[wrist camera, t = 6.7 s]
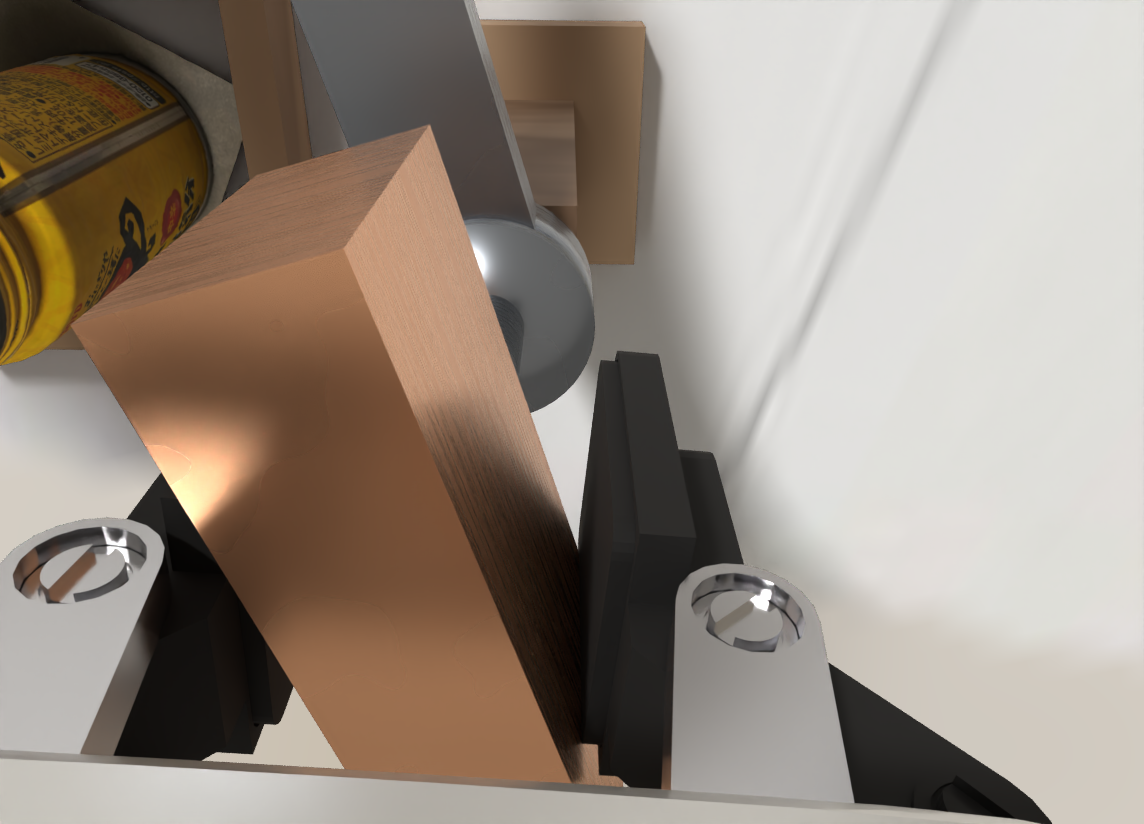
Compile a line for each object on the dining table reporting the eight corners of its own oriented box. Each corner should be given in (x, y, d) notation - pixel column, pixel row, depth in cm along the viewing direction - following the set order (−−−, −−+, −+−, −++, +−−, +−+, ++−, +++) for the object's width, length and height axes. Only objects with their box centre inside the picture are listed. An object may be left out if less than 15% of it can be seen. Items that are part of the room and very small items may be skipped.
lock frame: (-50, 317, 30) (-392, 535, 19) (-205, -95, 24) (-833, -110, 13) (627, 322, 30) (660, 541, 19) (646, -84, 24) (709, -91, 13)
